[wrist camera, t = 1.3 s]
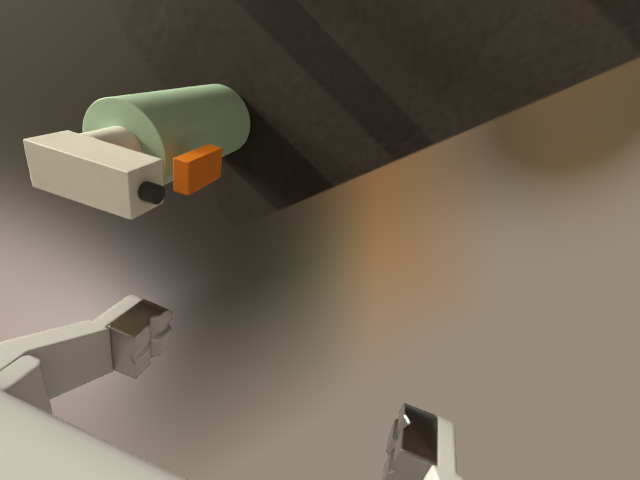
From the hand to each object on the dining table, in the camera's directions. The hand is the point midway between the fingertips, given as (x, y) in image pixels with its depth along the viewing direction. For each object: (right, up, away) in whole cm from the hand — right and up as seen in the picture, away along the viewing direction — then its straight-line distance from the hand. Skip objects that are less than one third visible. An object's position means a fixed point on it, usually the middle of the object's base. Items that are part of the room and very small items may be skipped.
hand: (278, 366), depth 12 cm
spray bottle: (-8, +16, +26) cm, 32 cm away
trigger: (-7, +10, +16) cm, 20 cm away
